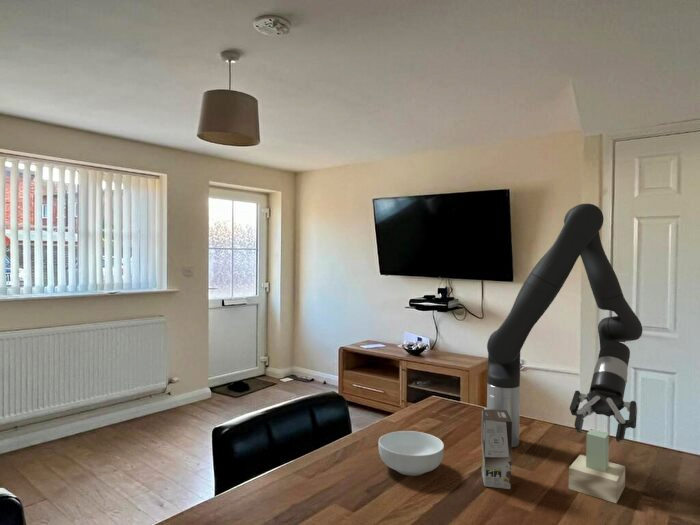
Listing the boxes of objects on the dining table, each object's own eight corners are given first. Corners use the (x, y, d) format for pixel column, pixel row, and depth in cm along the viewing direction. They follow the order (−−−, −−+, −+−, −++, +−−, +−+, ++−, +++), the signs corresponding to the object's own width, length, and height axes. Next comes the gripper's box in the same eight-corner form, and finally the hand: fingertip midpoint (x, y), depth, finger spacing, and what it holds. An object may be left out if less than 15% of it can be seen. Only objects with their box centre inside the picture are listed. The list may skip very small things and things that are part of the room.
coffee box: (511, 489, 109) (512, 421, 109) (483, 487, 111) (484, 419, 110) (506, 472, 118) (507, 409, 118) (480, 469, 120) (481, 407, 119)
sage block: (586, 467, 110) (586, 433, 110) (590, 461, 114) (590, 429, 113) (604, 472, 108) (605, 438, 108) (608, 466, 111) (609, 433, 111)
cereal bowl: (456, 468, 120) (456, 441, 120) (419, 492, 108) (419, 462, 108) (403, 449, 132) (403, 425, 132) (364, 469, 120) (365, 441, 120)
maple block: (568, 488, 110) (568, 467, 110) (579, 473, 118) (580, 454, 118) (616, 503, 104) (616, 481, 104) (624, 486, 111) (625, 466, 111)
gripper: (576, 365, 122) (563, 420, 113) (640, 375, 113) (630, 435, 104) (581, 381, 126) (569, 435, 118) (643, 392, 117) (634, 451, 108)
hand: (597, 435), depth 111 cm, fingers open, 8 cm apart
